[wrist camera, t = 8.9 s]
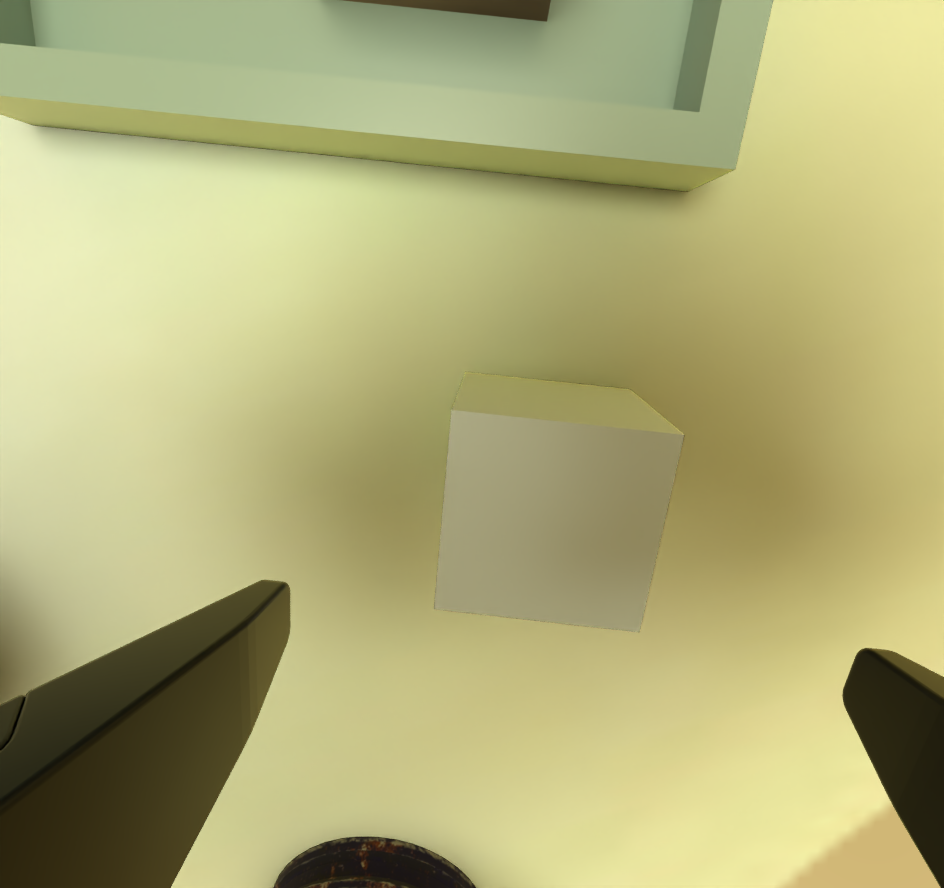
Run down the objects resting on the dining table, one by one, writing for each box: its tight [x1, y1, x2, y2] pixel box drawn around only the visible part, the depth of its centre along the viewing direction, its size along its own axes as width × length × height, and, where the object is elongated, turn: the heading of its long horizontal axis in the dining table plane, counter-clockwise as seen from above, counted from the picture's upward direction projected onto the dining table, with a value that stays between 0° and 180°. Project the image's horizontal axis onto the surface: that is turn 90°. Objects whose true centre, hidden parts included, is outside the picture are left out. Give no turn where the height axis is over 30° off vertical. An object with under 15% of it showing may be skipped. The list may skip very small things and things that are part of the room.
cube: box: [434, 372, 684, 632], centre depth 14 cm, size 5×5×5 cm
